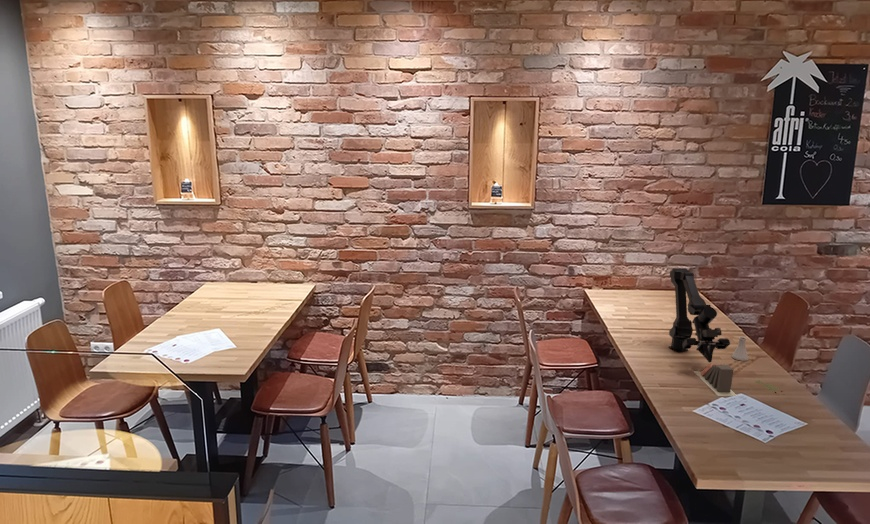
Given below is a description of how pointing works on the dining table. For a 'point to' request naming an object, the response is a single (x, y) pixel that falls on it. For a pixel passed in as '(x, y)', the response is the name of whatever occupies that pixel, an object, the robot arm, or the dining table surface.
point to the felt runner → (715, 388)
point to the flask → (741, 350)
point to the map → (768, 386)
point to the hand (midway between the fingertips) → (710, 362)
